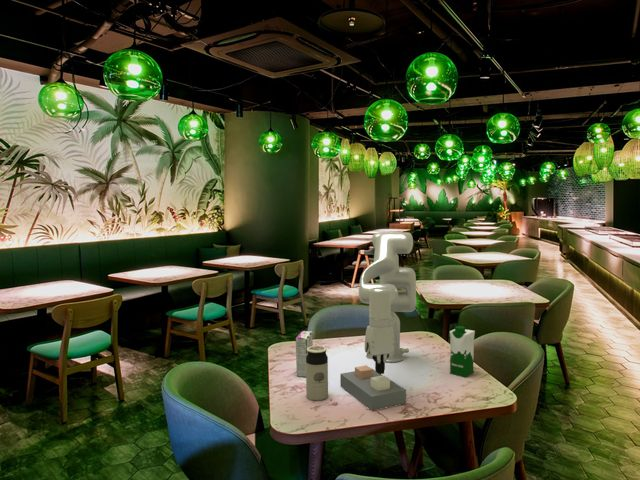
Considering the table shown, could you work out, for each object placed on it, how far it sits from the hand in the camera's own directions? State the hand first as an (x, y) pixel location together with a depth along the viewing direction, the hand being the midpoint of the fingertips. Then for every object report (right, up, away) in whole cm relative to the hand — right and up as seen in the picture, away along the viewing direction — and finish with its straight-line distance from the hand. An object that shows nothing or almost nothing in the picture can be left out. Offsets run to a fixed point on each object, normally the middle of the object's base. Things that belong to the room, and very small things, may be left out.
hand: (380, 372), depth 161 cm
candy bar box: (-28, -9, +30) cm, 42 cm away
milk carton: (+38, -8, +27) cm, 47 cm away
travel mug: (-22, -10, +5) cm, 25 cm away
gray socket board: (-2, -10, +6) cm, 12 cm away
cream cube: (0, -7, +1) cm, 7 cm away
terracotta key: (-5, -7, +12) cm, 14 cm away
